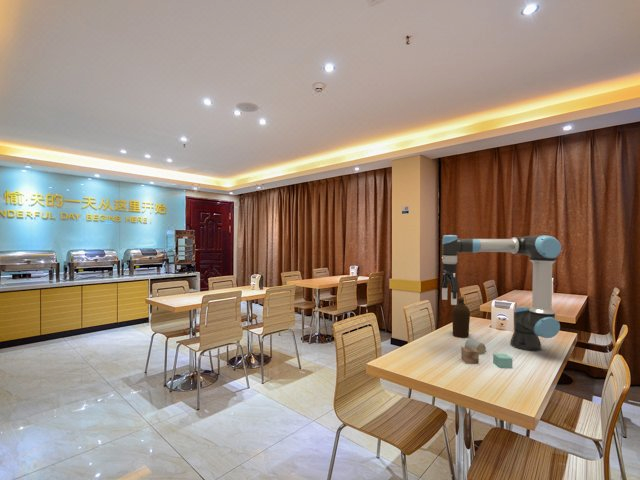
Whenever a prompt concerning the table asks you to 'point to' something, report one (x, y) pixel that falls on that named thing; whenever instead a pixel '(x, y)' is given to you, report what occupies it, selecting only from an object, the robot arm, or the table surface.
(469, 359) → the walnut block
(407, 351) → the table surface
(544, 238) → the robot arm
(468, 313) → the olive oil
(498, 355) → the teal block
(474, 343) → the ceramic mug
